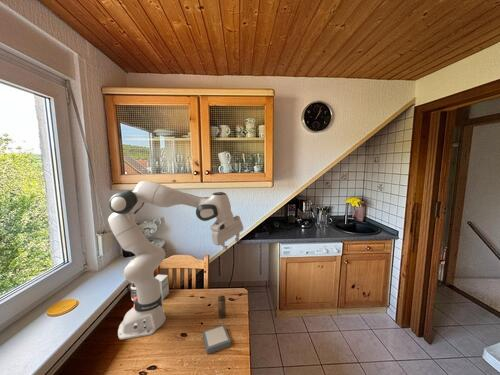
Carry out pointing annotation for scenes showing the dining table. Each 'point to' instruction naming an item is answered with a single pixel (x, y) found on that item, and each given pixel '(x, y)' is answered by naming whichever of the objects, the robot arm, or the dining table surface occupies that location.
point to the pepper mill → (221, 307)
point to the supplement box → (163, 285)
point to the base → (216, 339)
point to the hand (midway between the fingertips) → (231, 245)
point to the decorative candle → (133, 289)
